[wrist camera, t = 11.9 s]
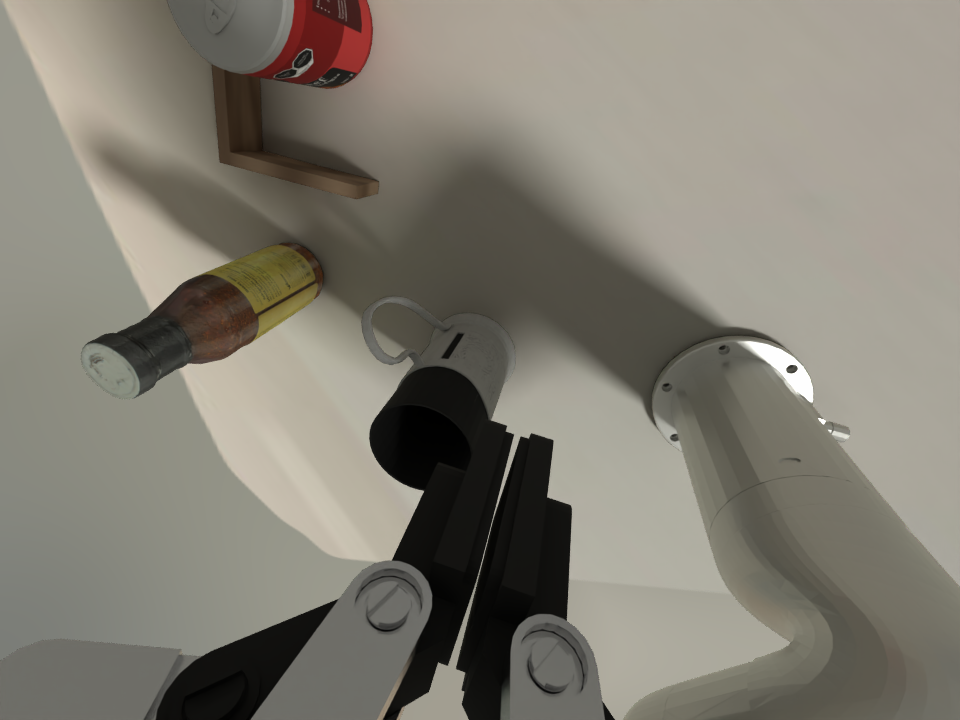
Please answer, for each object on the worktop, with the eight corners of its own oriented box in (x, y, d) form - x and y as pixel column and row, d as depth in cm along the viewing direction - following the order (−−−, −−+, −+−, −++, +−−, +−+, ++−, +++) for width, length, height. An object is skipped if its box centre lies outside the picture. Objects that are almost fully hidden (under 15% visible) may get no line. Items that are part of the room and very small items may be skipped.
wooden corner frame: (407, -151, 27) (381, -193, 24) (377, 193, 38) (356, 199, 34) (236, -183, 29) (187, -228, 25) (252, 160, 39) (219, 162, 35)
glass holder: (453, 402, 46) (398, 507, 33) (387, 280, 41) (294, 346, 28) (529, 379, 43) (503, 486, 30) (467, 244, 38) (403, 300, 25)
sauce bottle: (265, 236, 42) (38, 306, 25) (324, 244, 41) (130, 322, 24) (275, 300, 45) (80, 402, 28) (330, 309, 44) (163, 420, 27)
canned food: (275, 65, 35) (157, 39, 25) (292, -60, 31) (158, -148, 21) (361, 107, 35) (274, 97, 25) (388, -12, 31) (298, -79, 21)
